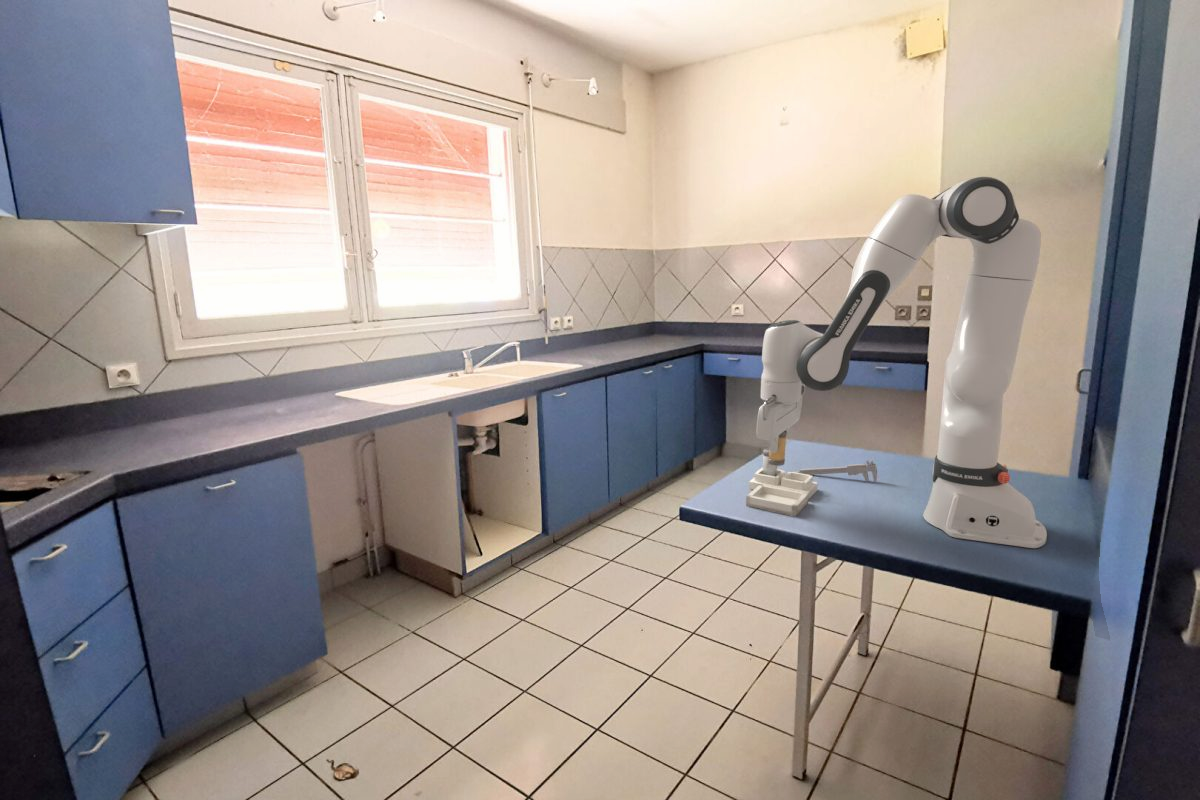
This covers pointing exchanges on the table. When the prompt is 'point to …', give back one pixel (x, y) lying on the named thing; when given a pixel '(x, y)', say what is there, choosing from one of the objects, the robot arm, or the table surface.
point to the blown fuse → (779, 451)
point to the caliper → (845, 470)
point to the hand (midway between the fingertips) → (777, 448)
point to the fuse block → (782, 478)
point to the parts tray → (777, 500)
